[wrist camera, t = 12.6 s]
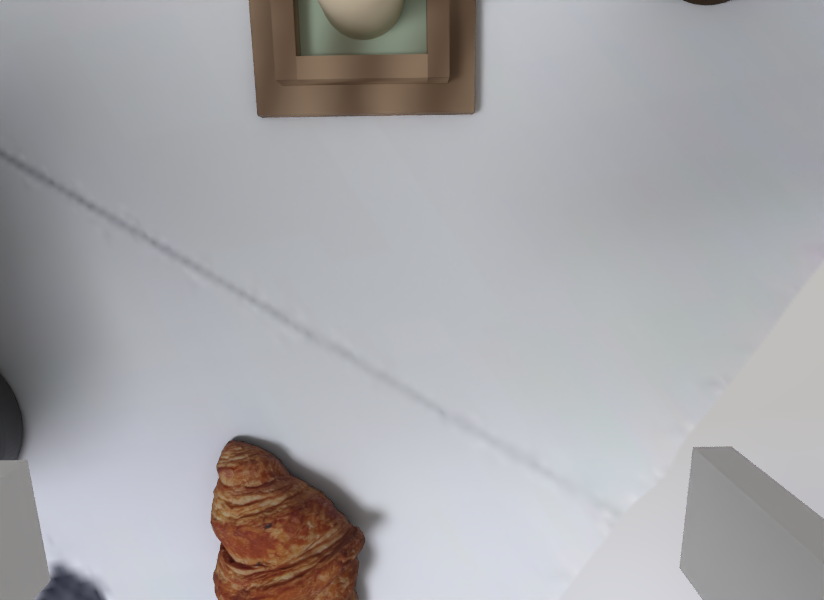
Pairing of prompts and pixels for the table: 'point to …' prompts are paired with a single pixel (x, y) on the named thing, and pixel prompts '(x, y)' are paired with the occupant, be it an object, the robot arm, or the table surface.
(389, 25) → the kraft paper roll
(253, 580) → the pastry
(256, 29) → the walnut roll stand
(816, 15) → the table surface
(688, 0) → the brown bottle
